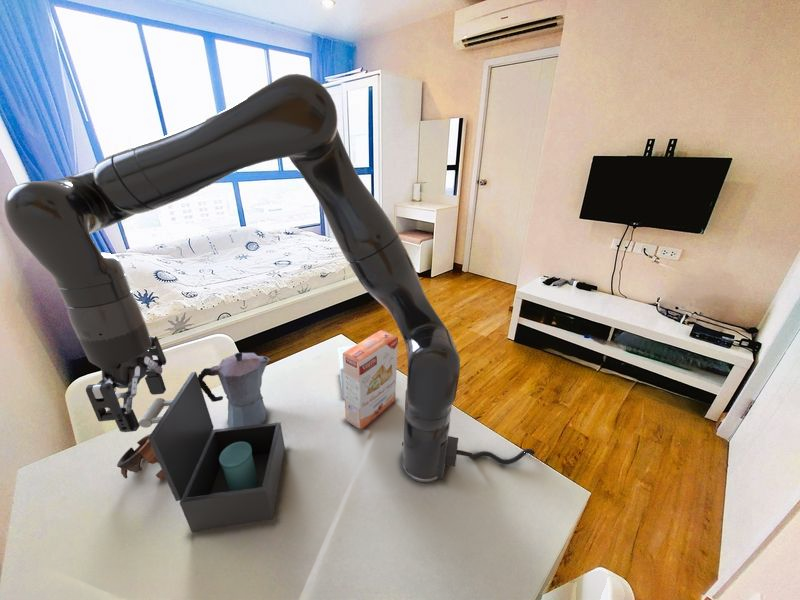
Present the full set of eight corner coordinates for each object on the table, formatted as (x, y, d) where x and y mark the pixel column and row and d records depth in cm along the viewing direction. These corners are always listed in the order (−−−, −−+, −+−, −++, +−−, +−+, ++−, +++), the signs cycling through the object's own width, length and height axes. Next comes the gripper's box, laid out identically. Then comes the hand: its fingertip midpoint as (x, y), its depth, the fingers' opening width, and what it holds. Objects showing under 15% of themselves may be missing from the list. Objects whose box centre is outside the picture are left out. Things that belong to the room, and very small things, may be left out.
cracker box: (362, 432, 78) (359, 362, 69) (344, 421, 81) (340, 352, 72) (397, 401, 88) (399, 335, 79) (380, 391, 91) (380, 328, 83)
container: (264, 476, 66) (257, 444, 62) (246, 501, 61) (238, 469, 58) (241, 469, 67) (233, 438, 64) (222, 494, 63) (212, 462, 59)
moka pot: (283, 421, 81) (272, 355, 72) (214, 449, 73) (193, 378, 64) (273, 398, 88) (262, 336, 79) (209, 422, 80) (189, 355, 71)
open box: (285, 450, 73) (280, 422, 69) (273, 521, 59) (265, 490, 55) (221, 458, 71) (212, 429, 67) (192, 534, 57) (179, 502, 53)
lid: (196, 371, 61) (165, 374, 60) (153, 437, 47) (113, 442, 46) (213, 427, 67) (186, 430, 66) (181, 500, 53) (146, 505, 52)
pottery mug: (152, 497, 63) (117, 472, 60) (139, 488, 69) (107, 466, 66) (203, 442, 71) (175, 418, 68) (187, 438, 77) (161, 416, 74)
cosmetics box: (339, 375, 98) (337, 346, 93) (360, 372, 99) (359, 344, 95) (342, 399, 88) (339, 368, 84) (365, 395, 90) (364, 365, 85)
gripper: (109, 350, 41) (148, 441, 48) (163, 303, 54) (188, 380, 60) (40, 355, 40) (91, 448, 46) (113, 305, 52) (144, 384, 59)
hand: (146, 410), depth 53 cm, fingers open, 8 cm apart
